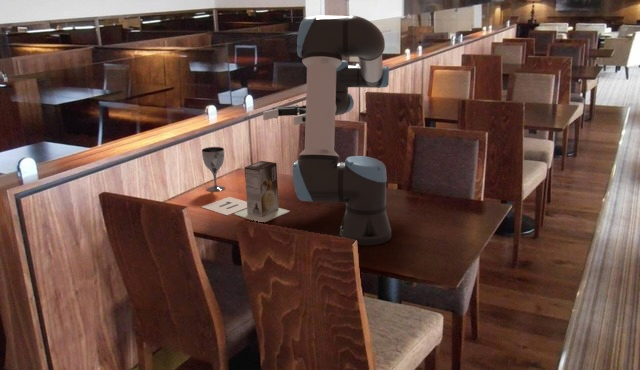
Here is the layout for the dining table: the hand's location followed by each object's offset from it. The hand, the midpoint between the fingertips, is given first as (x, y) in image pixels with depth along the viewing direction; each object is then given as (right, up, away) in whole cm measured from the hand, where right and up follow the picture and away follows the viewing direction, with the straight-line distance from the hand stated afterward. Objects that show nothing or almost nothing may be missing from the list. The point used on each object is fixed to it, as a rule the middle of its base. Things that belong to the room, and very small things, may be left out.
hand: (278, 118), depth 193 cm
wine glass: (-25, -23, +28) cm, 44 cm away
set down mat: (-6, -31, +2) cm, 31 cm away
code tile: (-18, -29, +9) cm, 35 cm away
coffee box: (-5, -31, +3) cm, 31 cm away
